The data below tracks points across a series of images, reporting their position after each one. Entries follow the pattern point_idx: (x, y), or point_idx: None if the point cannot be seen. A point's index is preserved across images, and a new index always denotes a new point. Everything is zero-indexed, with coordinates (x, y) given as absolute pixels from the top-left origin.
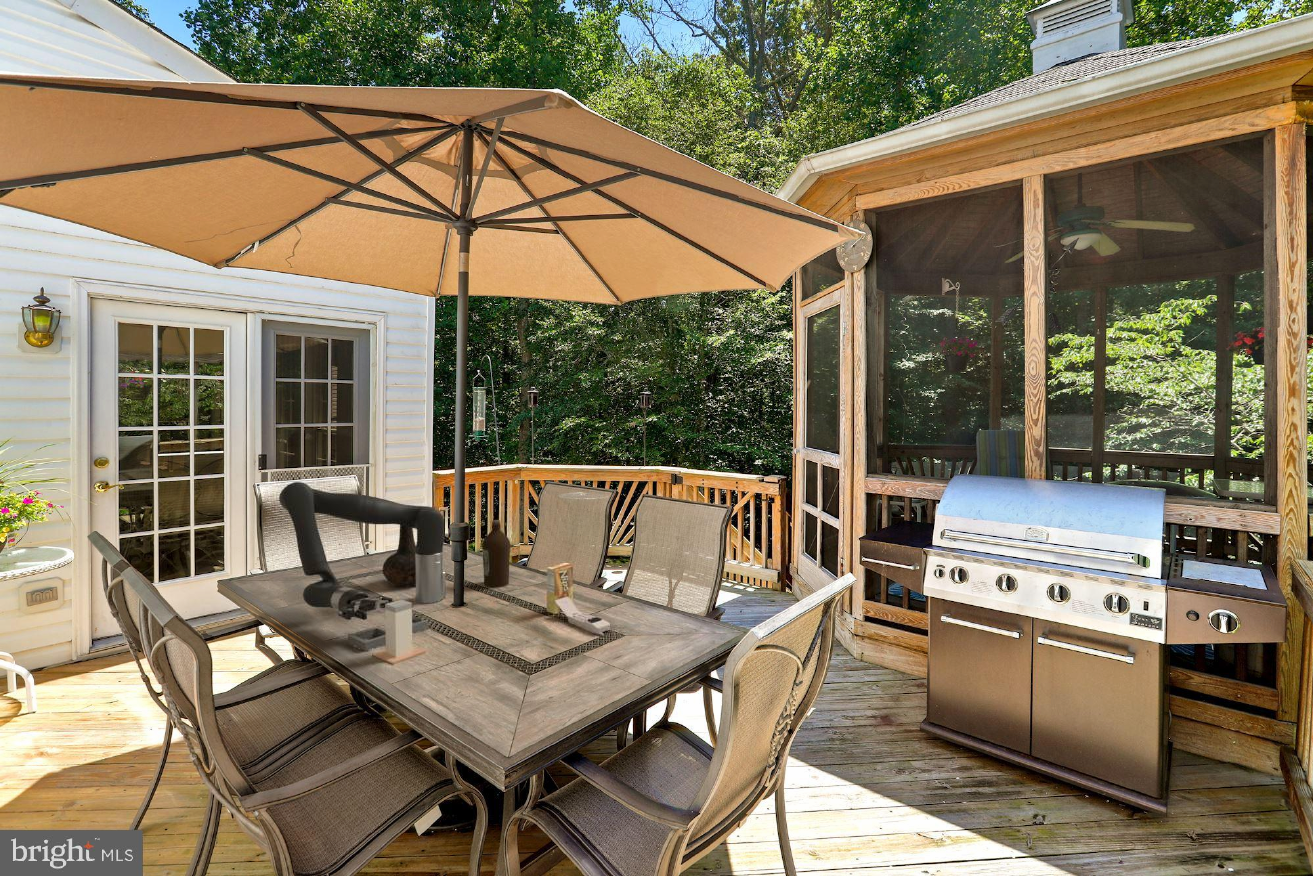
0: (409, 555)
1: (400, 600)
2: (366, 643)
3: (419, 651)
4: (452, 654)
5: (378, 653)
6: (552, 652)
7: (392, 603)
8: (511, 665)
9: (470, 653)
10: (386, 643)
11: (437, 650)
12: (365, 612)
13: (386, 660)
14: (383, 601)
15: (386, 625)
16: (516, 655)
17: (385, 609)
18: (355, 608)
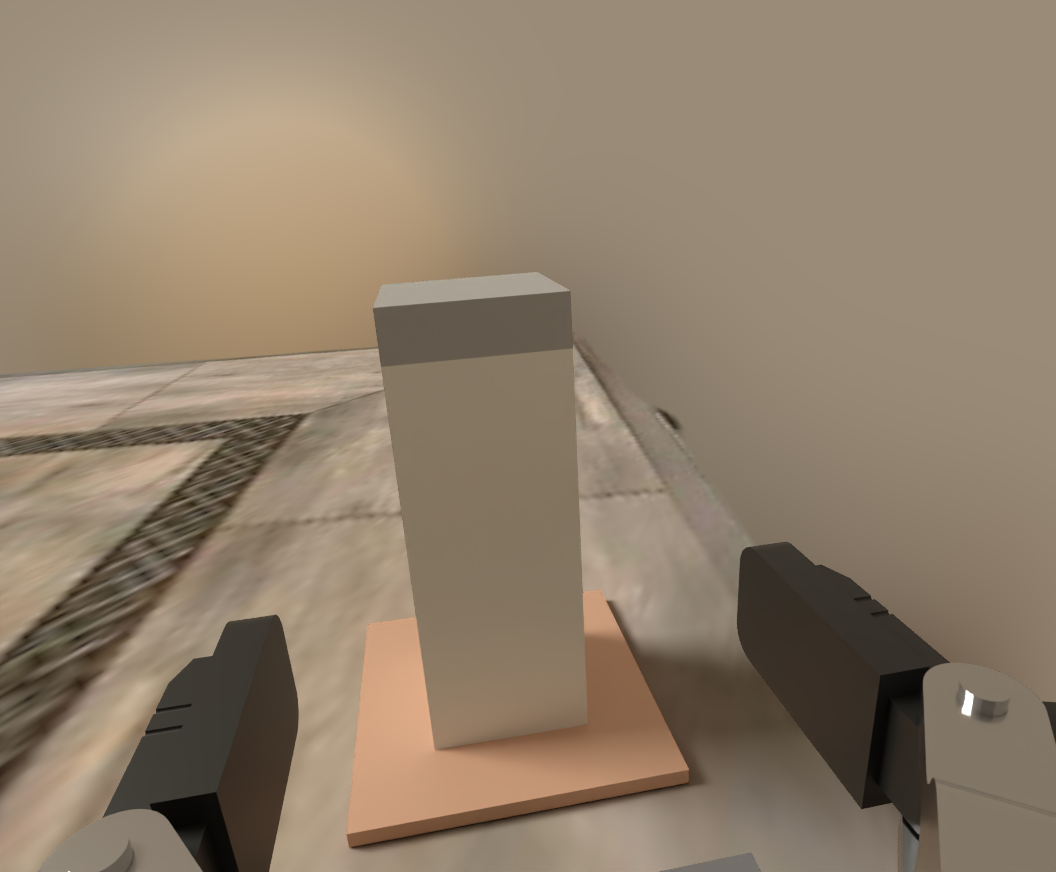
0: None
1: (400, 302)
2: (736, 863)
3: (399, 633)
4: (304, 562)
5: (643, 746)
6: (110, 454)
7: (507, 289)
8: (275, 447)
9: (249, 539)
10: (582, 647)
11: (303, 626)
12: (760, 546)
13: (622, 637)
14: (181, 860)
15: (575, 496)
16: (185, 475)
17: (572, 347)
18: (1013, 757)
